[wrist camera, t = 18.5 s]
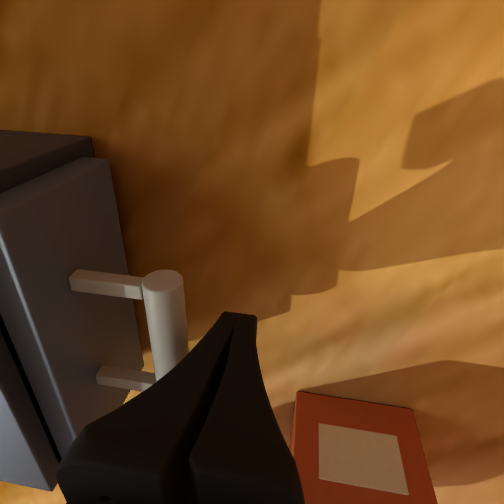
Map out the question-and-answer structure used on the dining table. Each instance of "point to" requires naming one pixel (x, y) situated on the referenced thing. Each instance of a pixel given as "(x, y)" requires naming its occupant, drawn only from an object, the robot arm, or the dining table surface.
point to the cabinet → (3, 365)
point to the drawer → (80, 299)
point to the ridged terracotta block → (358, 452)
